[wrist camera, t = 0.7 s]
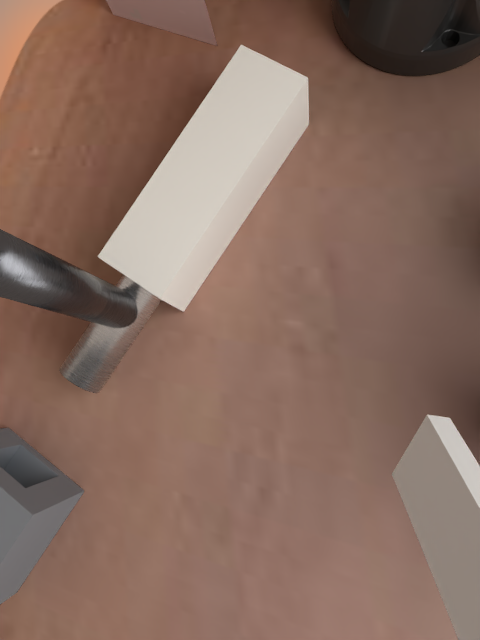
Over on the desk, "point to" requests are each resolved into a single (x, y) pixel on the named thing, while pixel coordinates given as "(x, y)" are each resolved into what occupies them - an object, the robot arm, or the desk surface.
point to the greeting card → (169, 16)
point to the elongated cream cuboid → (211, 178)
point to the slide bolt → (77, 307)
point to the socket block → (28, 508)
